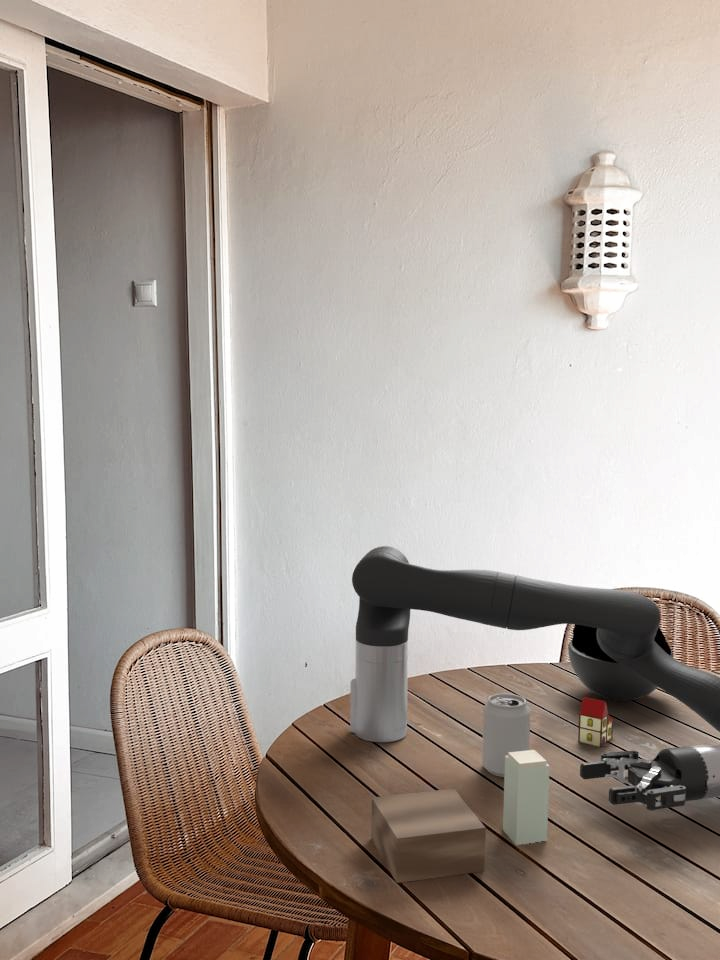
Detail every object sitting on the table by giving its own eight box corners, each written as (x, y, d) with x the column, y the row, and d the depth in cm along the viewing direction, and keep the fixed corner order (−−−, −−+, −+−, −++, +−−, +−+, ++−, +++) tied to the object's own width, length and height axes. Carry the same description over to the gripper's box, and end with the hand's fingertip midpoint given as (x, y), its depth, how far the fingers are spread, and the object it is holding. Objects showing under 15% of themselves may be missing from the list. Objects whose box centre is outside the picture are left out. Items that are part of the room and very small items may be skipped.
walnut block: (371, 838, 138) (371, 797, 137) (452, 828, 141) (453, 788, 140) (396, 882, 126) (397, 838, 125) (484, 871, 129) (485, 827, 128)
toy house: (577, 747, 172) (579, 701, 171) (579, 733, 178) (581, 689, 177) (611, 750, 170) (613, 705, 169) (612, 736, 176) (614, 692, 176)
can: (527, 781, 157) (529, 708, 155) (480, 777, 158) (481, 704, 156) (529, 762, 164) (531, 692, 162) (483, 758, 165) (485, 689, 164)
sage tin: (503, 829, 141) (505, 751, 139) (532, 826, 142) (535, 748, 140) (516, 845, 136) (518, 764, 135) (546, 841, 137) (549, 761, 136)
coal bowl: (684, 717, 185) (689, 619, 183) (577, 715, 185) (581, 617, 183) (654, 681, 205) (658, 593, 203) (557, 680, 205) (560, 592, 203)
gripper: (669, 730, 151) (572, 739, 147) (726, 767, 137) (621, 779, 133) (667, 776, 152) (571, 787, 148) (723, 818, 138) (619, 832, 134)
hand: (595, 783), depth 141 cm, fingers open, 8 cm apart
